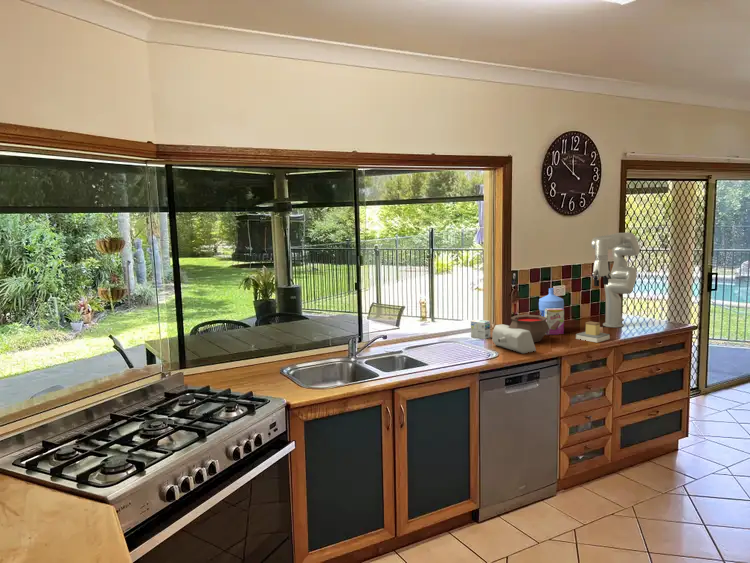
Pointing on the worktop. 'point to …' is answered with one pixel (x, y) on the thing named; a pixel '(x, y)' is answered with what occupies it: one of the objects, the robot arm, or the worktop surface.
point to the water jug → (550, 302)
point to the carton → (592, 328)
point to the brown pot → (531, 325)
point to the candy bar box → (555, 321)
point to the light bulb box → (480, 329)
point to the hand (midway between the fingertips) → (601, 285)
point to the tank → (513, 339)
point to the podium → (593, 337)
